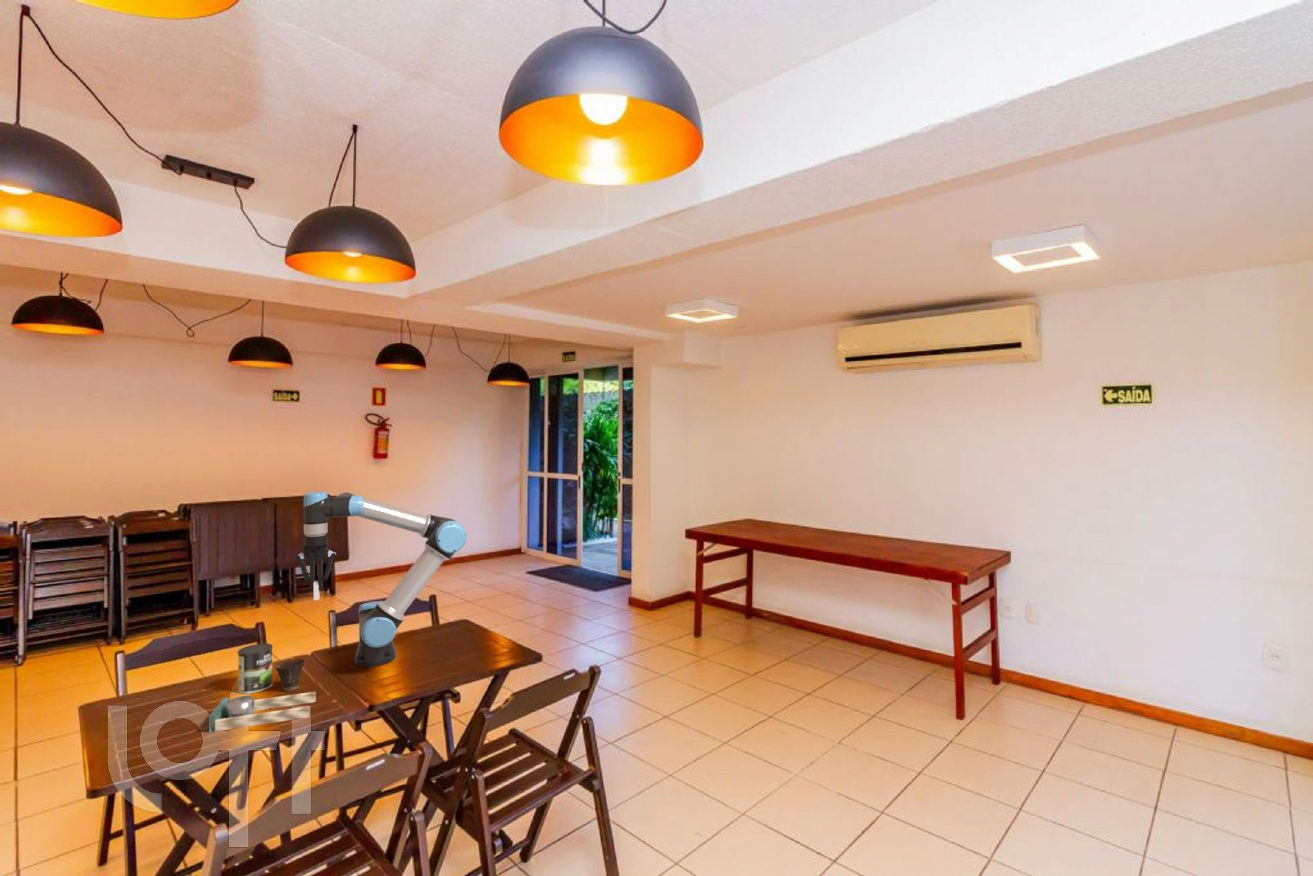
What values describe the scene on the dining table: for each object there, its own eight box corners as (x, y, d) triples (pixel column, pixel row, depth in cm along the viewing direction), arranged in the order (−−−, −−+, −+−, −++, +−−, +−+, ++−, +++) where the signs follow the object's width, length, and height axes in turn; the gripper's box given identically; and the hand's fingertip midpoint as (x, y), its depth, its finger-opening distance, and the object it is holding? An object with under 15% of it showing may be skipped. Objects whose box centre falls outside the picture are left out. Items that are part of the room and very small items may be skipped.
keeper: (257, 712, 195) (257, 694, 195) (250, 722, 188) (249, 703, 188) (232, 716, 193) (231, 697, 193) (224, 726, 186) (223, 707, 186)
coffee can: (279, 682, 218) (279, 644, 218) (255, 695, 208) (255, 654, 208) (256, 680, 220) (255, 642, 220) (230, 692, 210) (230, 652, 210)
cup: (265, 691, 209) (269, 662, 210) (288, 685, 217) (292, 656, 218) (283, 696, 206) (287, 666, 207) (306, 689, 214) (310, 660, 215)
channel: (315, 700, 204) (315, 685, 204) (308, 717, 191) (308, 701, 191) (223, 713, 194) (222, 698, 194) (209, 732, 182) (209, 716, 182)
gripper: (337, 531, 223) (338, 594, 224) (297, 534, 219) (298, 598, 219) (334, 535, 216) (335, 600, 217) (293, 537, 212) (293, 604, 212)
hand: (316, 599), depth 218 cm, fingers closed
